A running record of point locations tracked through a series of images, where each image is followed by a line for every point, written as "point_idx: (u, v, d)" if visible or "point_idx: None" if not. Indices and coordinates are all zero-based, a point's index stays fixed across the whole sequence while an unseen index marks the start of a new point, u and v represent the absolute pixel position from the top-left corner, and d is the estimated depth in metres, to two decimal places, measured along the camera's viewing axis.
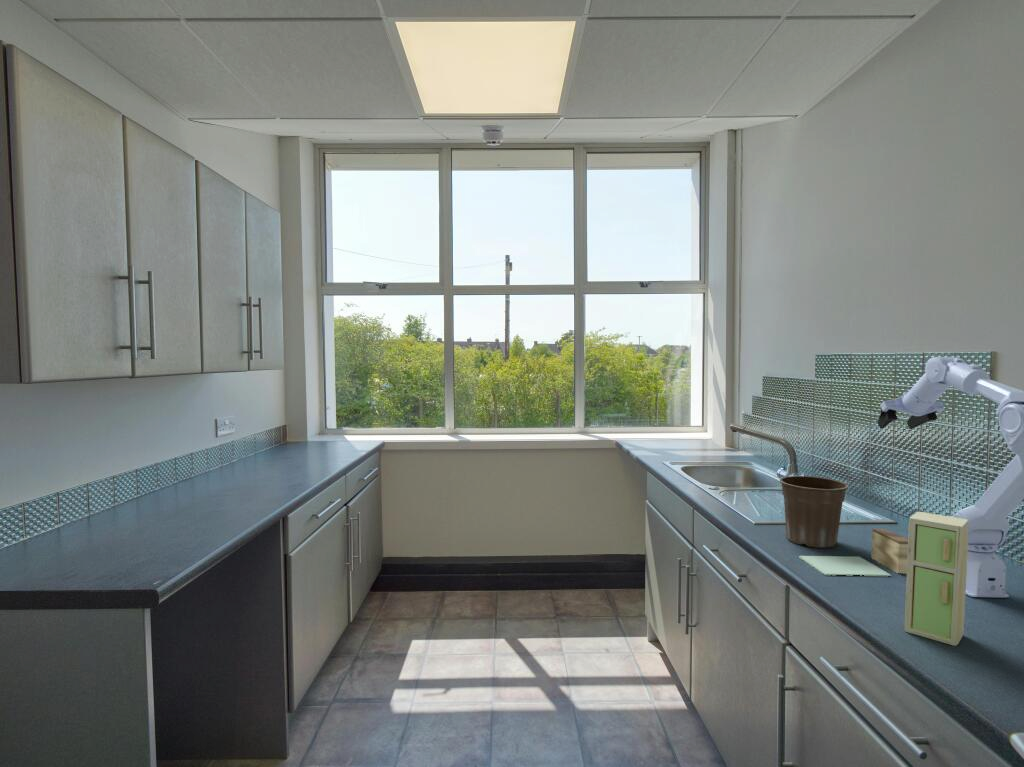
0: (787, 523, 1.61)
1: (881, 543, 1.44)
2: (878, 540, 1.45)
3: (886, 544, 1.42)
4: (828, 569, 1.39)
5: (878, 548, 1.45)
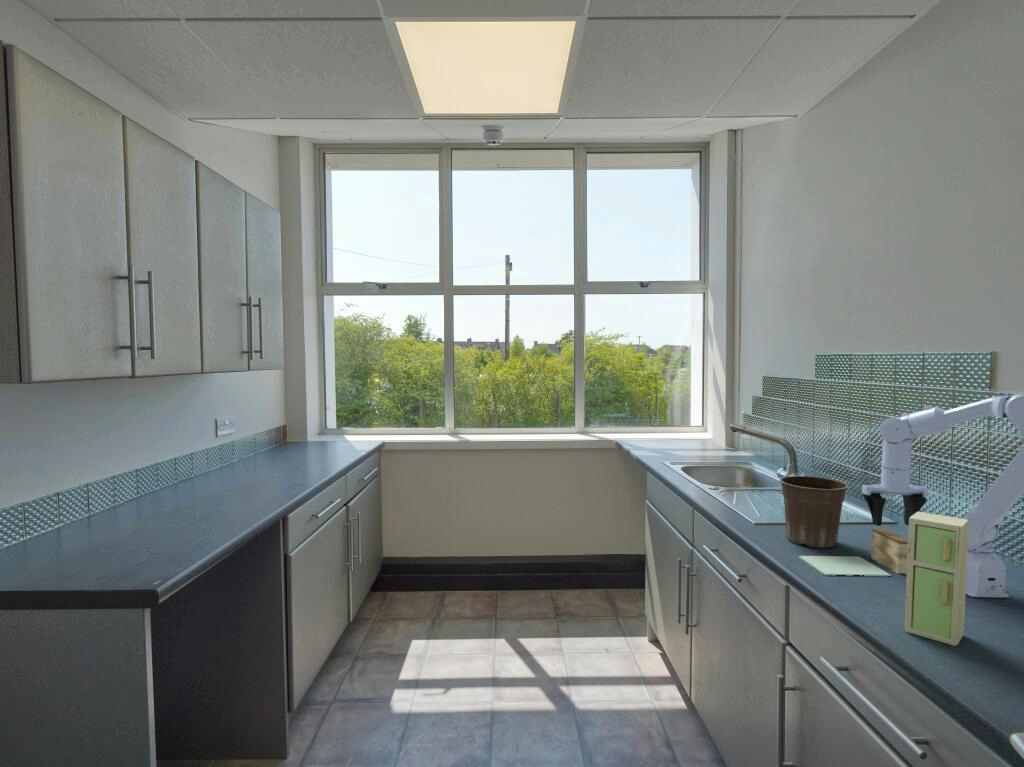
0: (787, 523, 1.61)
1: (881, 543, 1.44)
2: (878, 540, 1.45)
3: (886, 544, 1.42)
4: (828, 569, 1.39)
5: (878, 548, 1.45)
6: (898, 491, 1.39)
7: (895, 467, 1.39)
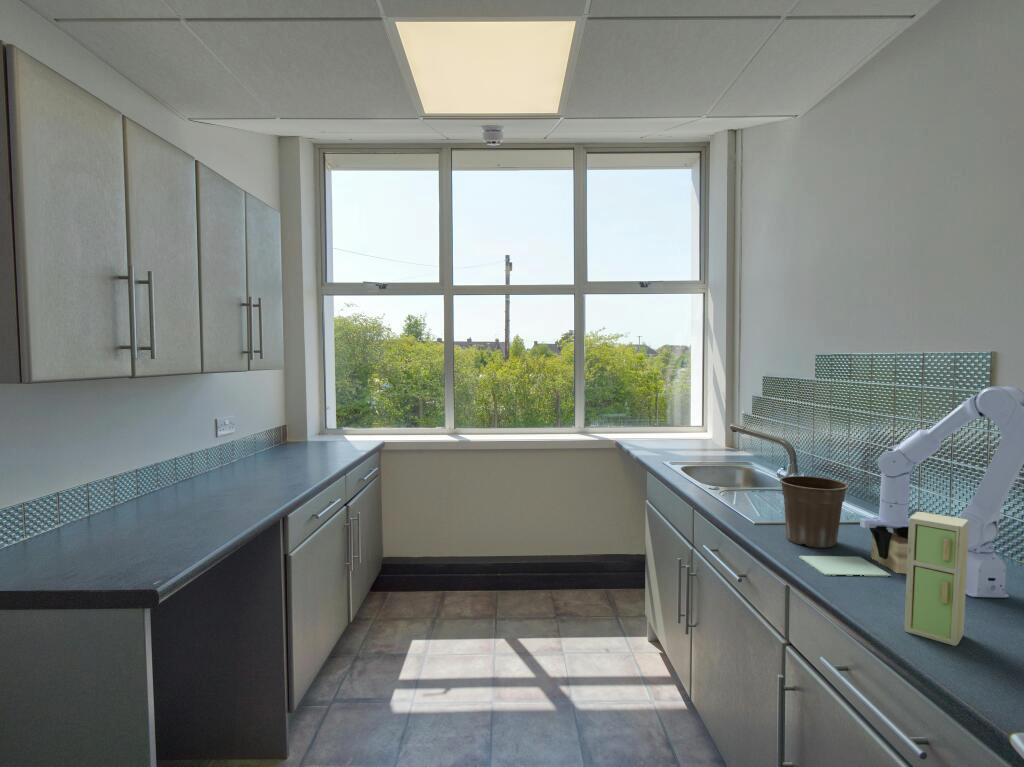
0: (787, 523, 1.61)
1: None
2: None
3: None
4: (828, 569, 1.39)
5: None
6: (896, 525, 1.40)
7: (893, 501, 1.40)
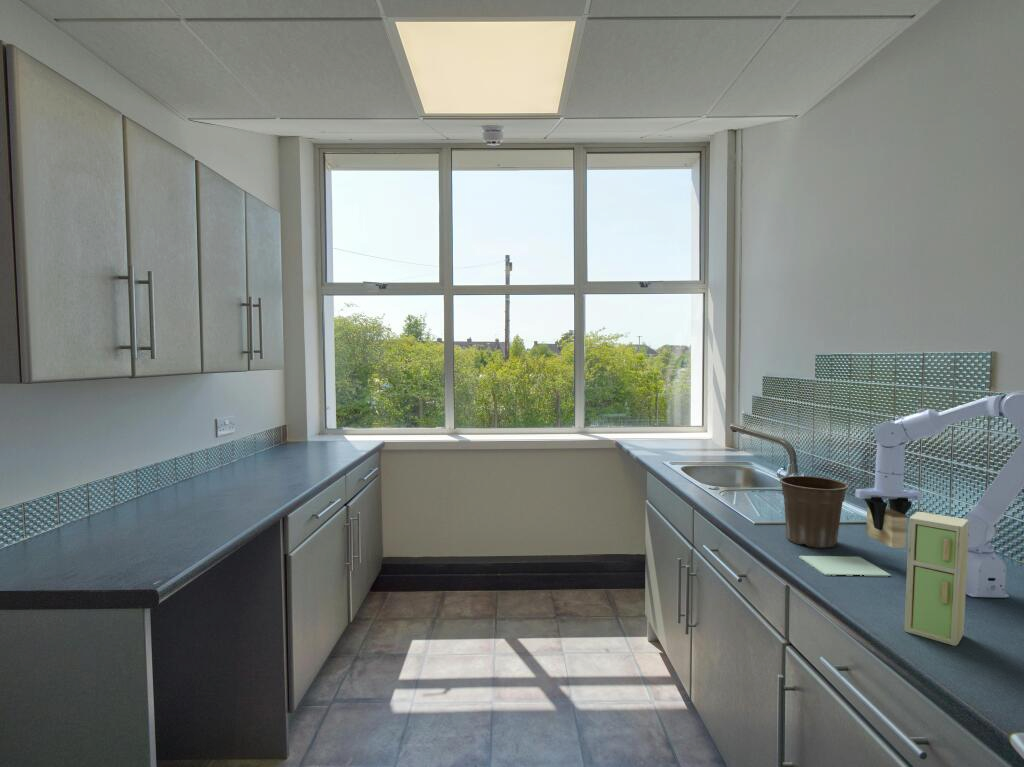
0: (787, 523, 1.61)
1: None
2: None
3: None
4: (828, 569, 1.39)
5: (873, 523, 1.45)
6: (891, 495, 1.39)
7: (890, 471, 1.39)
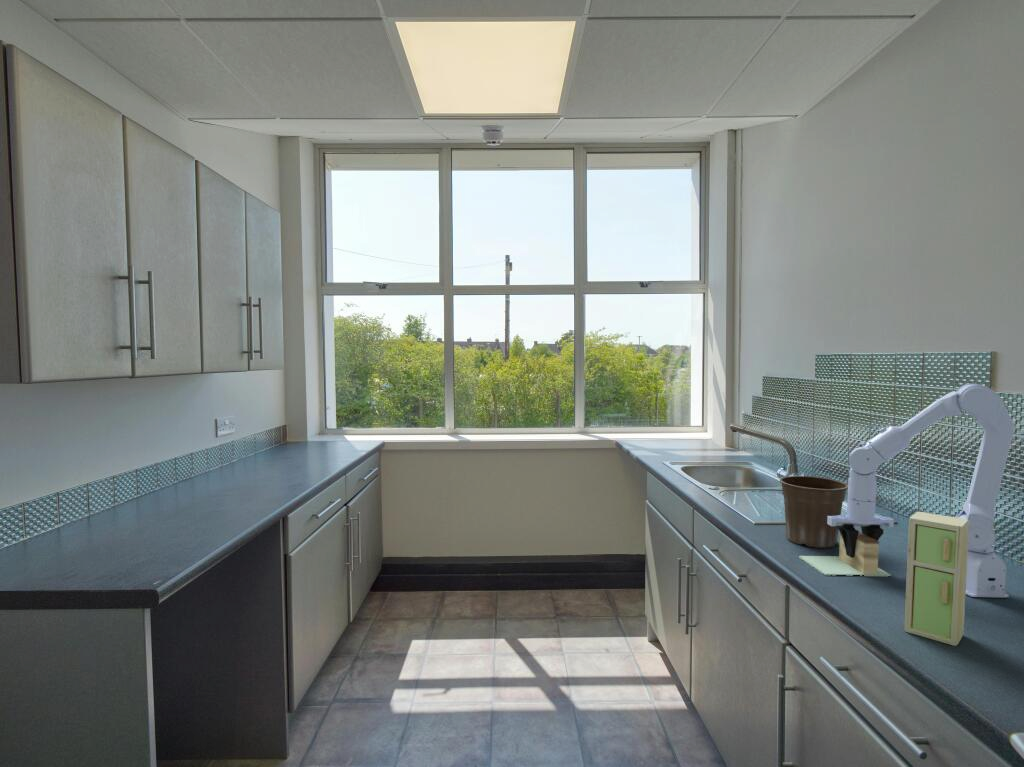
0: (787, 523, 1.61)
1: None
2: None
3: None
4: (828, 569, 1.39)
5: None
6: (863, 523, 1.37)
7: (866, 499, 1.37)
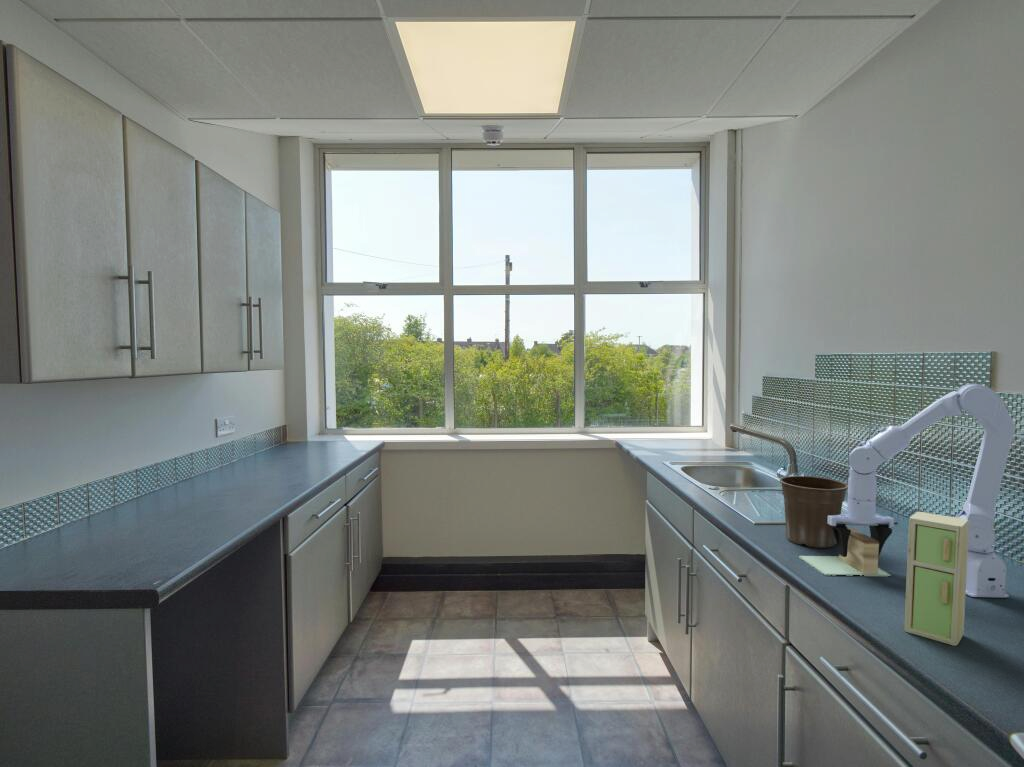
0: (787, 523, 1.61)
1: (848, 543, 1.42)
2: None
3: (853, 544, 1.40)
4: (828, 569, 1.39)
5: None
6: (863, 522, 1.37)
7: (866, 498, 1.37)
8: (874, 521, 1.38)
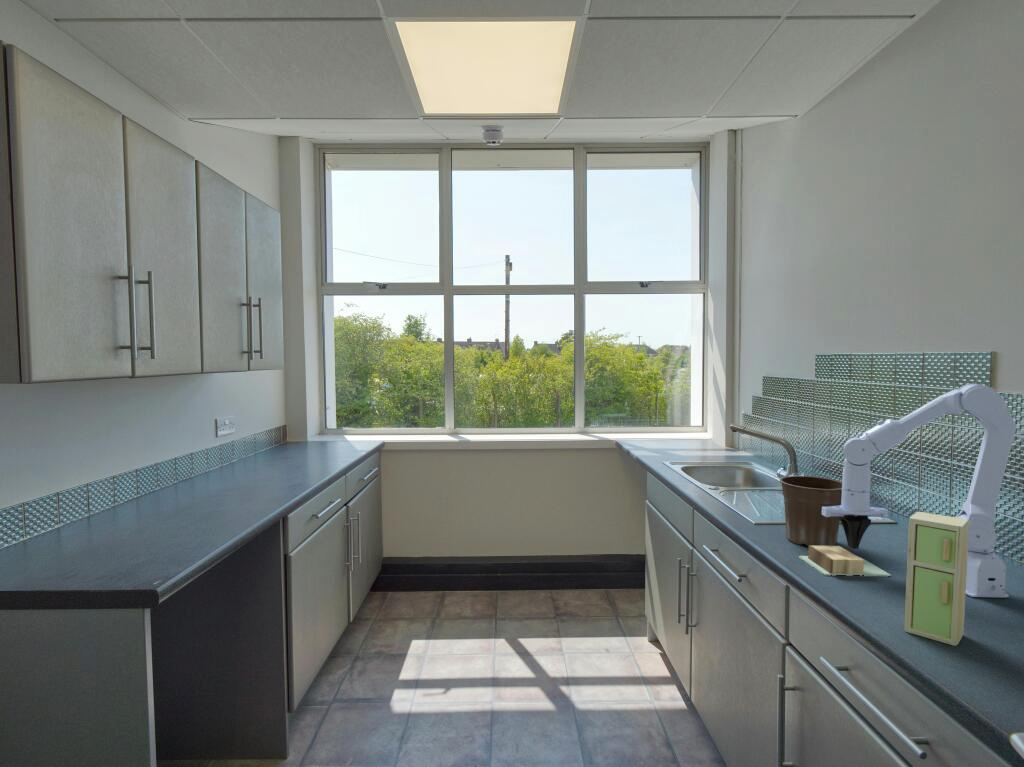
0: (787, 523, 1.61)
1: None
2: None
3: None
4: None
5: None
6: (857, 513, 1.37)
7: (861, 489, 1.37)
8: (868, 512, 1.38)
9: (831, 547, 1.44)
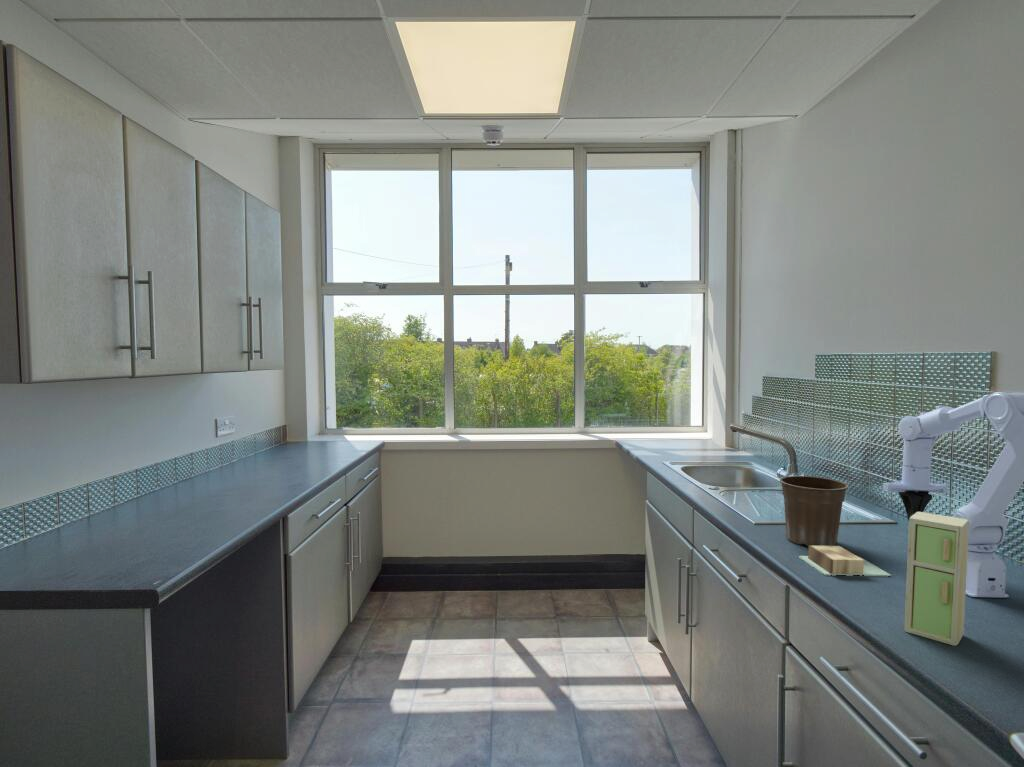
0: (787, 523, 1.61)
1: None
2: None
3: None
4: None
5: None
6: (919, 488, 1.42)
7: (909, 464, 1.44)
8: (929, 487, 1.42)
9: (831, 547, 1.44)
